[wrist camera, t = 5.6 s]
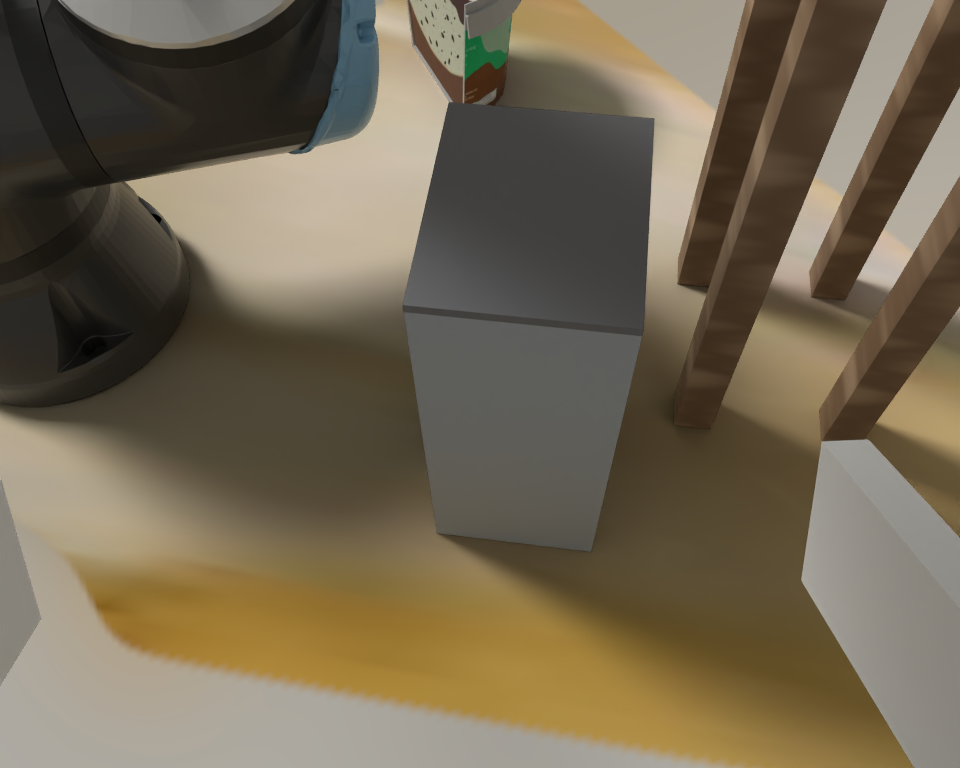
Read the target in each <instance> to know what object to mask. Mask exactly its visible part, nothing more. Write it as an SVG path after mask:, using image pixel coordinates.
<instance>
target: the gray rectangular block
mask: <svg viewBox="0 0 960 768" xmlns="http://www.w3.org/2000/svg"><path fill="white" fill-rule="evenodd" d="M653 137H654V118H642V117H629V116H617V115H604V114H592V113H579V112H567V111H554V110H542V109H530V108H517V107H505V106H492V105H480V104H467V103H455V102H449V104H448V108H447V112H446V117H445V121H444V126H443V130H442V134H441V139H440V143H439V147H438V152H437V156H436V161H435V165H434V169H433V174H432V178H431V183H430V187H429V191H428V196H427V200H426V204H425V209H424V213H423V218H422V222H421V226H420V231H419V235H418V240H417V244H416V248H415V253H414V257H413V261H412V266H411V270H410V275H409V279H408V283H407V288H406V292H405V297H404V301H403V311H404V318H405V325H406V331H407V338H408V345H409V351H410V358H411V365H412V371H413V378H414V385H415V391H416V398H417V405H418V411H419V418H420V425H421V431H422V438H423V445H424V451H425V458H426V465H427V471H428V478H429V485H430V491H431V498H432V505H433V511H434V518H435V525H436V531H437V533H440V534H449V535H457V536H465V537H473V538H481V539H489V540H497V541H506V542H514V543H522V544H530V545H538V546H546V547H554V548H563V549H571V550H579V551H587V552H591V550H592V546H593V542H594V538H595V533H596V529H597V525H598V521H599V516H600V512H601V508H602V504H603V500H604V495H605V491H606V487H607V483H608V478H609V474H610V470H611V466H612V461H613V457H614V453H615V449H616V445H617V440H618V436H619V432H620V428H621V423H622V419H623V415H624V411H625V406H626V402H627V398H628V394H629V389H630V385H631V381H632V377H633V373H634V368H635V364H636V360H637V356H638V351H639V347H640V343H641V339H642V334H643V330H644V314H645V294H646V275H647V255H648V235H649V216H650V196H651V176H652V157H653Z"/></svg>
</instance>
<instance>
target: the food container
mask: <svg viewBox="0 0 960 768" xmlns="http://www.w3.org/2000/svg"><path fill="white" fill-rule="evenodd" d="M520 2H521V0H407V7H408V15H409V22H410V30H411V37H412V45H413V47H414V49H415V50H416V52H417V54H418V55H419V57H420V58H421V60H422V61H423V63H424V64H425V66H426V67H427V69H428V70H429V72H430V73H431V75H432V76H433V78H434V79H435V81H436V83H437V84H438V86H439V87H440V89H441V90H442V92H443V93H444V95H445V96H446V98H447V99H448V101H449V102H455V103H467V104H480V105H492V106H495V104H496V103H497V101H498V100H499V99H500V97H501V96H502V94H503V90H504V85H505V79H506V69H507V60H508V50H509V40H510V31H511V21H512V13H513V12H514V11H515V10H516V8H517V7H518V5H519V4H520Z"/></svg>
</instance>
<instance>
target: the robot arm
mask: <svg viewBox="0 0 960 768" xmlns="http://www.w3.org/2000/svg"><path fill="white" fill-rule="evenodd" d="M375 17H376V9H375V0H0V403H3V404H8V405H14V406H47V405H55V404H61V403H66V402H70V401H74V400H78V399H81V398H84V397H87V396H90V395H93V394H95V393H98V392H100V391H102V390H105V389H107V388H109V387H111V386H113V385H115V384H116V383H118V382H120V381H122V380H123V379H125V378H126V377H128V376H130V375H131V374H133V373H134V372H135V371H137V370H138V369H139V368H141V367H142V366H143V365H144V364H146V363H147V362H148V361H149V360H150V359H151V358H152V357H153V356H154V355H155V354H156V353H157V352H158V351H159V350H160V349H161V348H162V347H163V345H164V344H165V343H166V342H167V341H168V339H169V338H170V336H171V335H172V334H173V332H174V330H175V329H176V327H177V325H178V323H179V321H180V320H181V317H182V315H183V313H184V310H185V307H186V303H187V299H188V294H189V284H190V282H189V270H188V266H187V262H186V259H185V256H184V254H183V252H182V250H181V248H180V245H179V243H178V241H177V239H176V237H175V235H174V233H173V231H172V229H171V227H170V226H169V224H168V223H167V222H166V220H165V219H164V218H163V216H162V215H161V214H160V213H159V212H158V211H157V210H156V209H155V208H154V207H152V206H151V205H150V204H149V203H148V202H146V201H145V200H144V199H142V198H140V197H139V196H138V195H137V194H136V193H135V191H134V190H133V189H132V188H131V187H130V186H129V185H128V184H127V183H126V182H124V181H130V180H135V179H141V178H146V177H152V176H157V175H163V174H169V173H174V172H180V171H185V170H191V169H196V168H202V167H207V166H213V165H218V164H224V163H229V162H235V161H240V160H246V159H251V158H257V157H264V156H270V155H276V154H282V153H290V154H302V153H307V152H309V151H311V150H312V149H313V148H314V147H316V146H320V145H324V144H328V143H333V142H337V141H341V140H345V139H349V138H351V137H353V136H355V135H357V134H358V133H360V132H361V131H362V130H363V129H364V128H365V127H366V125H367V124H368V122H369V121H370V119H371V117H372V114H373V112H374V108H375V104H376V99H377V92H378V77H379V48H378V38H377V34H376V30H375V28H374V24H375ZM801 581H802V583H803V584H804V586H805V588H806V589H807V591H808V593H809V594H810V596H811V598H812V599H813V601H814V603H815V604H816V606H817V608H818V609H819V611H820V613H821V614H822V616H823V618H824V619H825V621H826V623H827V624H828V626H829V628H830V629H831V631H832V633H833V634H834V636H835V638H836V639H837V641H838V643H839V644H840V646H841V648H842V649H843V651H844V652H845V654H846V656H847V657H848V659H849V661H850V662H851V664H852V666H853V667H854V669H855V671H856V672H857V674H858V676H859V677H860V679H861V681H862V682H863V684H864V686H865V687H866V689H867V691H868V692H869V694H870V696H871V697H872V699H873V701H874V702H875V704H876V706H877V707H878V709H879V711H880V712H881V714H882V716H883V717H884V719H885V721H886V722H887V724H888V725H889V727H890V729H891V730H892V732H893V734H894V735H895V737H896V739H897V740H898V742H899V744H900V745H901V747H902V749H903V750H904V752H905V754H906V755H907V757H908V759H909V760H910V762H911V764H912V765H913V767H914V768H960V537H959V536H958V535H957V534H956V533H955V532H954V531H953V530H952V529H951V528H950V527H949V526H948V524H947V523H946V522H945V521H944V520H943V519H942V518H941V517H940V516H939V515H938V514H937V513H936V512H935V510H934V509H933V508H932V507H931V506H930V505H929V504H928V503H927V502H926V501H925V500H924V499H923V498H922V497H921V495H920V494H919V493H918V492H917V491H916V490H915V489H914V488H913V487H912V486H911V485H910V484H909V483H908V481H907V480H906V479H905V478H904V477H903V476H902V475H901V474H900V473H899V472H898V471H897V470H896V469H895V467H894V466H893V465H892V464H891V463H890V462H889V461H888V460H887V459H886V458H885V457H884V456H883V455H882V453H881V452H880V451H879V450H878V449H877V448H876V447H875V446H874V445H873V444H872V443H871V442H870V441H869V440H868V439H866V440H844V441H822V444H821V451H820V457H819V464H818V471H817V477H816V484H815V491H814V497H813V504H812V511H811V517H810V524H809V531H808V537H807V544H806V551H805V558H804V564H803V571H802V578H801ZM40 620H41V616H40V613H39V609H38V606H37V603H36V599H35V595H34V592H33V588H32V585H31V581H30V578H29V575H28V571H27V568H26V564H25V561H24V557H23V554H22V550H21V547H20V543H19V540H18V536H17V533H16V530H15V526H14V522H13V519H12V515H11V512H10V508H9V505H8V501H7V498H6V495H5V491H4V488H3V484H2V481H1V479H0V685H1V684H2V682H3V680H4V679H5V677H6V675H7V673H8V672H9V670H10V669H11V667H12V666H13V664H14V662H15V661H16V659H17V657H18V656H19V654H20V652H21V651H22V649H23V647H24V646H25V644H26V643H27V641H28V639H29V638H30V636H31V634H32V633H33V631H34V630H35V628H36V626H37V625H38V623H39V621H40Z"/></svg>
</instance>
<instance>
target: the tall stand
mask: <svg viewBox="0 0 960 768" xmlns="http://www.w3.org/2000/svg"><path fill="white" fill-rule="evenodd" d="M886 1H887V0H746V3H745V7H744V11H743V14H742V18H741V22H740V26H739V29H738V33H737V37H736V41H735V45H734V49H733V52H732V56H731V60H730V64H729V68H728V71H727V75H726V79H725V83H724V87H723V90H722V94H721V98H720V102H719V106H718V109H717V113H716V117H715V121H714V125H713V129H712V132H711V136H710V140H709V144H708V148H707V151H706V155H705V159H704V163H703V167H702V170H701V174H700V178H699V182H698V186H697V189H696V193H695V197H694V201H693V205H692V209H691V212H690V216H689V220H688V224H687V228H686V231H685V235H684V239H683V243H682V247H681V250H680V254H679V258H678V284H685V285H696V286H706V287H709V289H708V292H707V295H706V298H705V301H704V304H703V308H702V311H701V314H700V317H699V320H698V323H697V326H696V329H695V333H694V336H693V339H692V342H691V345H690V348H689V351H688V354H687V358H686V361H685V364H684V367H683V370H682V373H681V376H680V379H679V382H678V386H677V389H676V392H675V399H674V425H677V426H686V427H695V428H704V429H711V426H712V424H713V422H714V419H715V417H716V414H717V412H718V409H719V407H720V405H721V402H722V400H723V397H724V395H725V392H726V390H727V388H728V385H729V383H730V380H731V378H732V375H733V373H734V371H735V368H736V366H737V363H738V361H739V358H740V356H741V354H742V351H743V349H744V346H745V344H746V341H747V339H748V336H749V334H750V332H751V329H752V327H753V324H754V322H755V319H756V317H757V315H758V312H759V310H760V307H761V305H762V302H763V300H764V298H765V295H766V293H767V290H768V288H769V285H770V283H771V281H772V278H773V276H774V273H775V271H776V268H777V266H778V264H779V261H780V259H781V256H782V254H783V251H784V249H785V247H786V244H787V242H788V239H789V237H790V234H791V232H792V230H793V227H794V225H795V222H796V220H797V217H798V215H799V213H800V210H801V208H802V205H803V203H804V200H805V198H806V196H807V193H808V191H809V188H810V186H811V183H812V181H813V179H814V176H815V174H816V171H817V169H818V166H819V164H820V162H821V159H822V157H823V154H824V152H825V149H826V147H827V144H828V142H829V140H830V137H831V135H832V132H833V130H834V127H835V125H836V123H837V120H838V117H839V115H840V113H841V110H842V108H843V106H844V103H845V101H846V98H847V96H848V93H849V91H850V89H851V86H852V84H853V81H854V79H855V76H856V74H857V72H858V69H859V67H860V64H861V61H862V59H863V57H864V54H865V52H866V50H867V47H868V45H869V42H870V40H871V37H872V35H873V33H874V30H875V28H876V25H877V23H878V21H879V18H880V16H881V13H882V10H883V8H884V6H885V3H886ZM959 87H960V0H934V2H933V5H932V7H931V9H930V11H929V14H928V15H927V18H926V20H925V22H924V24H923V26H922V29H921V31H920V33H919V35H918V37H917V39H916V42H915V44H914V46H913V48H912V50H911V52H910V55H909V57H908V59H907V61H906V63H905V65H904V67H903V70H902V72H901V74H900V76H899V78H898V80H897V83H896V85H895V87H894V89H893V91H892V94H891V96H890V98H889V100H888V102H887V104H886V106H885V109H884V111H883V113H882V115H881V117H880V119H879V122H878V124H877V126H876V128H875V130H874V132H873V135H872V137H871V139H870V141H869V143H868V146H867V148H866V150H865V152H864V154H863V156H862V158H861V161H860V163H859V165H858V167H857V169H856V171H855V174H854V176H853V178H852V180H851V182H850V185H849V186H848V189H847V191H846V193H845V195H844V197H843V199H842V202H841V204H840V206H839V208H838V210H837V212H836V215H835V217H834V219H833V221H832V223H831V225H830V228H829V230H828V232H827V234H826V236H825V238H824V241H823V243H822V245H821V247H820V249H819V251H818V254H817V256H816V258H815V260H814V262H813V264H812V267H811V269H810V285H811V297H821V298H831V299H842V300H845V299H846V298H847V296H848V294H849V292H850V290H851V288H852V286H853V285H854V283H855V281H856V279H857V277H858V275H859V273H860V272H861V270H862V268H863V266H864V264H865V262H866V260H867V259H868V257H869V255H870V253H871V251H872V249H873V247H874V246H875V244H876V242H877V240H878V238H879V236H880V234H881V233H882V231H883V229H884V227H885V225H886V223H887V221H888V220H889V218H890V216H891V214H892V212H893V210H894V208H895V206H896V205H897V203H898V201H899V199H900V197H901V195H902V193H903V192H904V190H905V188H906V186H907V184H908V182H909V180H910V179H911V177H912V175H913V173H914V171H915V169H916V167H917V165H918V164H919V162H920V160H921V158H922V156H923V154H924V152H925V151H926V149H927V147H928V145H929V143H930V141H931V140H932V138H933V136H934V134H935V132H936V130H937V128H938V127H939V125H940V123H941V121H942V119H943V117H944V115H945V113H946V112H947V110H948V108H949V106H950V104H951V102H952V101H953V99H954V97H955V95H956V93H957V91H958V89H959ZM959 307H960V177H959V178H958V180H957V182H956V184H955V185H954V187H953V188H952V190H951V192H950V194H949V195H948V197H947V198H946V200H945V202H944V203H943V205H942V207H941V209H940V210H939V212H938V214H937V215H936V217H935V218H934V220H933V222H932V223H931V225H930V227H929V228H928V230H927V232H926V233H925V235H924V237H923V238H922V240H921V242H920V243H919V245H918V247H917V248H916V250H915V252H914V253H913V255H912V257H911V258H910V260H909V262H908V263H907V265H906V267H905V268H904V270H903V272H902V273H901V275H900V277H899V278H898V280H897V282H896V283H895V285H894V287H893V288H892V290H891V292H890V293H889V295H888V297H887V298H886V300H885V302H884V303H883V305H882V307H881V308H880V310H879V312H878V313H877V315H876V317H875V318H874V320H873V322H872V323H871V325H870V327H869V328H868V330H867V332H866V333H865V335H864V337H863V338H862V340H861V342H860V343H859V345H858V347H857V348H856V350H855V352H854V353H853V355H852V357H851V358H850V360H849V362H848V363H847V365H846V367H845V368H844V370H843V372H842V373H841V375H840V377H839V378H838V380H837V382H836V383H835V385H834V387H833V388H832V390H831V392H830V393H829V395H828V397H827V398H826V400H825V401H824V403H823V405H822V406H821V408H820V410H819V412H820V426H821V440H822V441H844V440H864V438H865V437H866V435H867V434H868V433H869V431H870V430H871V429H872V427H873V426H874V424H875V423H876V422H877V420H878V419H879V417H880V416H881V415H882V413H883V412H884V411H885V409H886V408H887V406H888V405H889V404H890V402H891V401H892V400H893V398H894V397H895V395H896V394H897V393H898V391H899V390H900V388H901V387H902V386H903V384H904V383H905V382H906V380H907V379H908V377H909V376H910V375H911V373H912V372H913V371H914V369H915V368H916V366H917V365H918V364H919V362H920V361H921V359H922V358H923V357H924V355H925V354H926V353H927V351H928V350H929V348H930V347H931V346H932V344H933V343H934V341H935V340H936V339H937V337H938V336H939V335H940V333H941V332H942V330H943V329H944V328H945V326H946V325H947V324H948V322H949V321H950V319H951V318H952V317H953V315H954V314H955V312H956V311H957V310H958V308H959Z"/></svg>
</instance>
